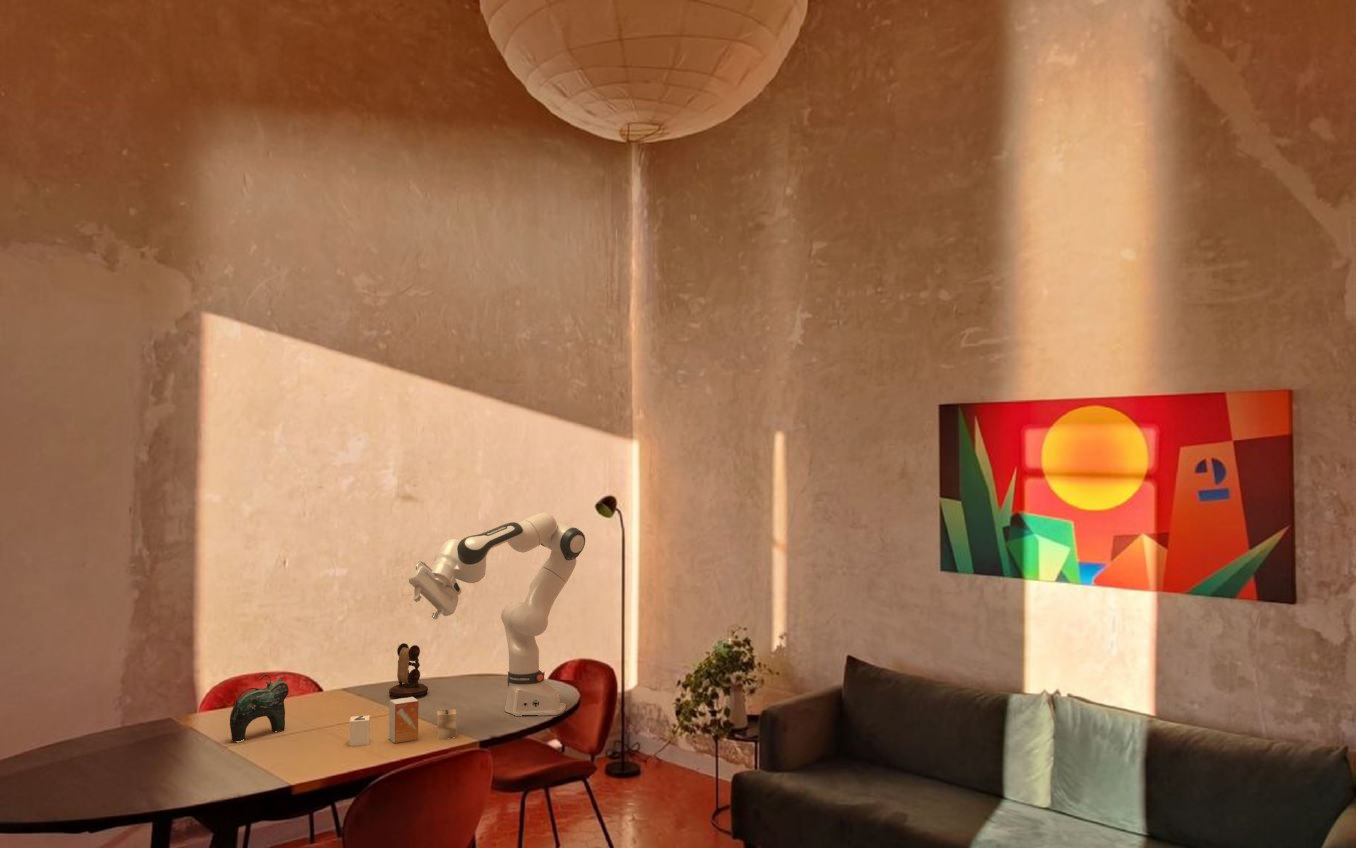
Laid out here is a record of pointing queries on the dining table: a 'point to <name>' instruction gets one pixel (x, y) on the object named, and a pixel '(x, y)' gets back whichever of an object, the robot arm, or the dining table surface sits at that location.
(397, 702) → the small box
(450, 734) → the beech block
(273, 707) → the bronze animal figurine
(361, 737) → the off-white block
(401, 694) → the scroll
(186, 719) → the dining table surface
